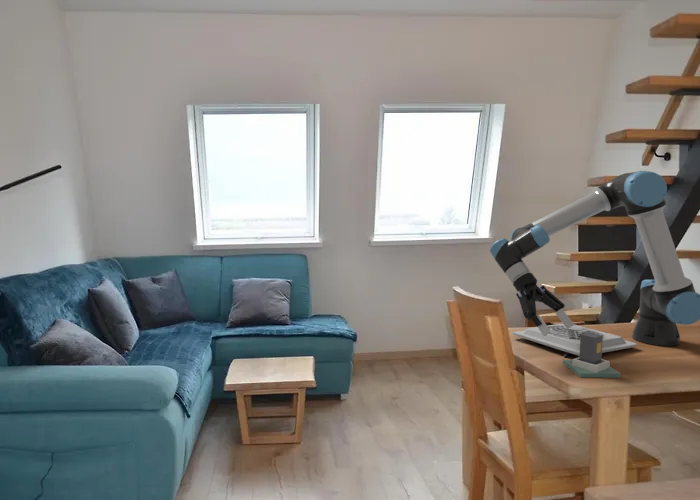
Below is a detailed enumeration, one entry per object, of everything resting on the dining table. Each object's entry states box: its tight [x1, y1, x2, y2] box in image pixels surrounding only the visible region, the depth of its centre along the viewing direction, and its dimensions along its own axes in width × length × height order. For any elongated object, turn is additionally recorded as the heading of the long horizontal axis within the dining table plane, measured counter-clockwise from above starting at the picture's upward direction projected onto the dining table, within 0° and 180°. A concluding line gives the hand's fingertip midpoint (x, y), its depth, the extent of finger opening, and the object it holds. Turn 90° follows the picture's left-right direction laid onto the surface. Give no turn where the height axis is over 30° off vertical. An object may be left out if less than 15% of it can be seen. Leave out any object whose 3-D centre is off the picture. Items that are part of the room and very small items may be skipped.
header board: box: [562, 356, 622, 379], centre depth 148 cm, size 12×12×3 cm
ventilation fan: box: [512, 323, 638, 357], centre depth 175 cm, size 30×6×30 cm
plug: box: [579, 332, 603, 365], centre depth 148 cm, size 4×5×10 cm
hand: (559, 330), depth 156 cm, fingers open, 13 cm apart
